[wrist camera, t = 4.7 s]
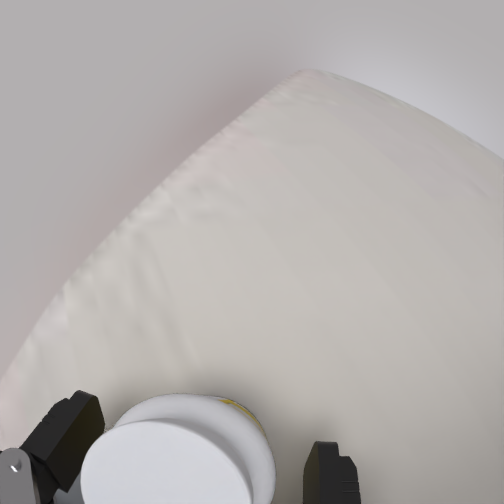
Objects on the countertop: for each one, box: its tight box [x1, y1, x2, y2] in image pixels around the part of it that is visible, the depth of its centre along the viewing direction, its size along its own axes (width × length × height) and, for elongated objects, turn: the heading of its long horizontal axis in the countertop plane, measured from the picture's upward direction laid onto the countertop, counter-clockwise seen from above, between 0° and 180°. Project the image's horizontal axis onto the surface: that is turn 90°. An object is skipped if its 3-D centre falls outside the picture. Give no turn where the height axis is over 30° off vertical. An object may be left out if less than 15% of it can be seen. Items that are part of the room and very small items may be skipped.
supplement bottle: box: [81, 393, 276, 504], centre depth 9 cm, size 5×5×10 cm
